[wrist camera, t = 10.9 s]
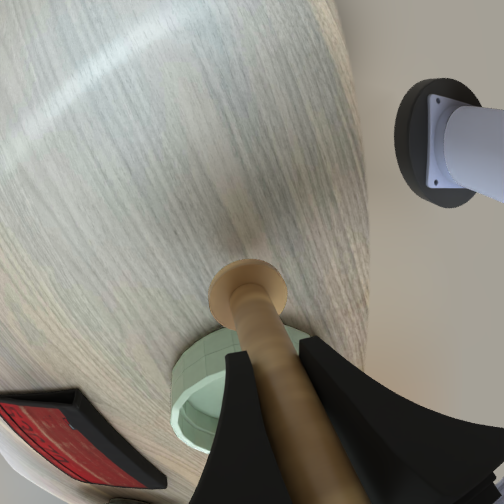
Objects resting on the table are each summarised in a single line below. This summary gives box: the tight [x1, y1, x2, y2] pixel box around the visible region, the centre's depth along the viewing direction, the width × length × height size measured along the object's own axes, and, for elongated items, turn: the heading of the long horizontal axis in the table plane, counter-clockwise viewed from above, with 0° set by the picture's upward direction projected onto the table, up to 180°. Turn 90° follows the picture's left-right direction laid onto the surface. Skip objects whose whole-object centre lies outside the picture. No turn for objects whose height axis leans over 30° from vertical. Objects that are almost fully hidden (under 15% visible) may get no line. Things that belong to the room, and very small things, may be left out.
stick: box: [208, 259, 372, 504], centre depth 9 cm, size 4×4×11 cm
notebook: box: [0, 389, 167, 489], centre depth 25 cm, size 16×2×21 cm
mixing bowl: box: [170, 325, 311, 454], centre depth 22 cm, size 13×13×4 cm
